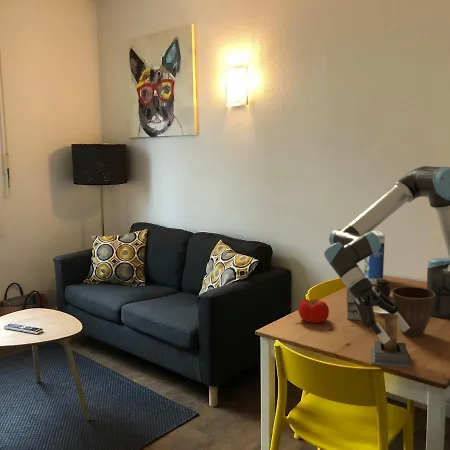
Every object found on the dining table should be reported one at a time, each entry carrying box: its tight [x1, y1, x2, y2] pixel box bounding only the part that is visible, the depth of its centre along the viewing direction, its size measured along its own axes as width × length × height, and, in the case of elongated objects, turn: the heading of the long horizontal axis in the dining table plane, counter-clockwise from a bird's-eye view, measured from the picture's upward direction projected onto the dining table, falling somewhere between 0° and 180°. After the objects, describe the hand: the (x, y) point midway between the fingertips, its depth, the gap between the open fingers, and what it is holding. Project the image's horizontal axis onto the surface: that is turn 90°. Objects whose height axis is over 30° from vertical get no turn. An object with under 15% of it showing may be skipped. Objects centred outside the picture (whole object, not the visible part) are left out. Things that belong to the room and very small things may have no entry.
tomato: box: [297, 298, 330, 324], centre depth 200 cm, size 13×12×8 cm
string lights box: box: [363, 230, 386, 286], centre depth 255 cm, size 13×8×26 cm, turn 174°
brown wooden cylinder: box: [383, 313, 398, 352], centre depth 163 cm, size 4×4×14 cm
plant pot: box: [391, 286, 435, 338], centre depth 184 cm, size 15×15×16 cm
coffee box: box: [346, 287, 362, 321], centre depth 204 cm, size 9×6×16 cm
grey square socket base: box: [370, 340, 412, 369], centre depth 164 cm, size 12×12×4 cm
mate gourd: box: [374, 276, 392, 298], centre depth 230 cm, size 7×8×10 cm
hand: (397, 335), depth 161 cm, fingers open, 13 cm apart
